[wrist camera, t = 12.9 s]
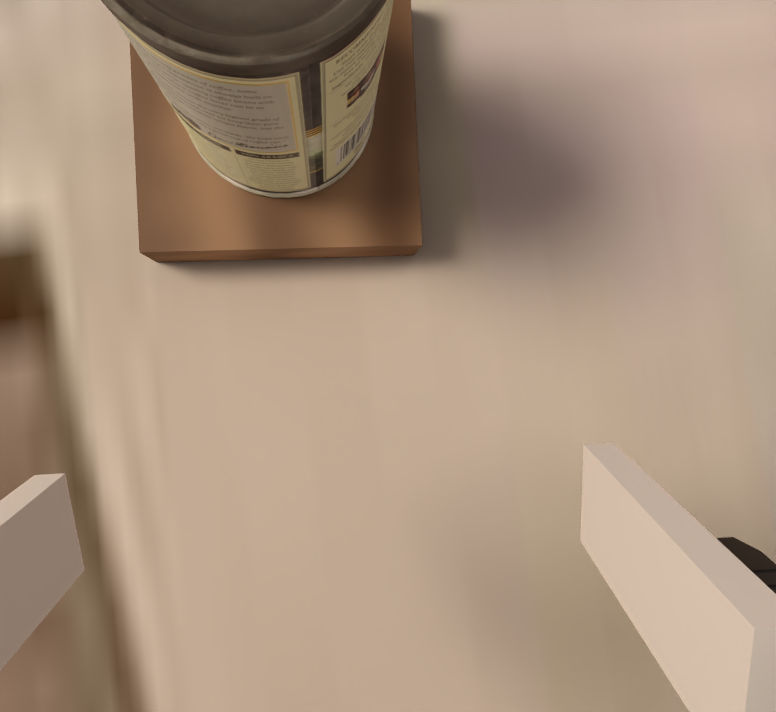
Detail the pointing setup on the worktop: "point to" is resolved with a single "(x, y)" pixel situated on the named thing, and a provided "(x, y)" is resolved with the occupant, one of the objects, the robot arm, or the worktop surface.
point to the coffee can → (266, 82)
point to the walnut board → (282, 215)
